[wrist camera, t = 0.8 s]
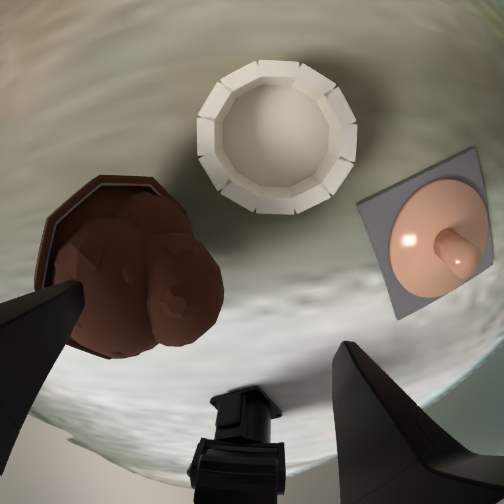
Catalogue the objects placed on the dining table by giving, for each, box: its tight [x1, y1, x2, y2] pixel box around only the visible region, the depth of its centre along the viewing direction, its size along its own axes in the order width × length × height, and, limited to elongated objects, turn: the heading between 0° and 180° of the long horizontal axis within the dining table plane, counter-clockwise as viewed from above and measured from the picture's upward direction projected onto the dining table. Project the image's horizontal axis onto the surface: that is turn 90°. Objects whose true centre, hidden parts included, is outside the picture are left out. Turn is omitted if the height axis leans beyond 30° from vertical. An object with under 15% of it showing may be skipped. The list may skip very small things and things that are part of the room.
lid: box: [389, 178, 488, 298], centre depth 18 cm, size 10×10×4 cm
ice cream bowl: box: [34, 175, 224, 360], centre depth 16 cm, size 11×11×15 cm
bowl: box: [197, 60, 357, 215], centre depth 17 cm, size 9×9×4 cm
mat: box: [356, 147, 493, 320], centre depth 20 cm, size 12×12×1 cm
